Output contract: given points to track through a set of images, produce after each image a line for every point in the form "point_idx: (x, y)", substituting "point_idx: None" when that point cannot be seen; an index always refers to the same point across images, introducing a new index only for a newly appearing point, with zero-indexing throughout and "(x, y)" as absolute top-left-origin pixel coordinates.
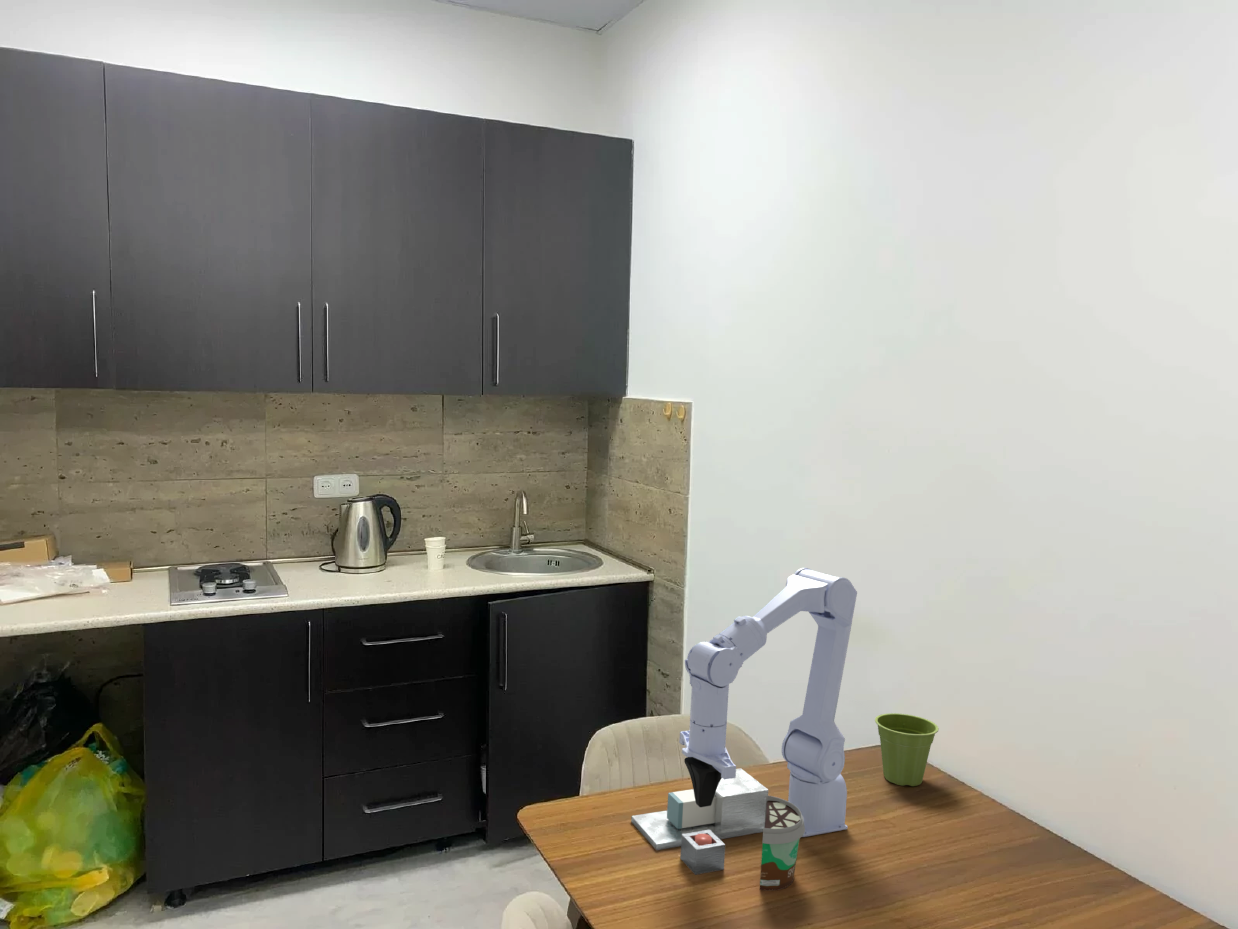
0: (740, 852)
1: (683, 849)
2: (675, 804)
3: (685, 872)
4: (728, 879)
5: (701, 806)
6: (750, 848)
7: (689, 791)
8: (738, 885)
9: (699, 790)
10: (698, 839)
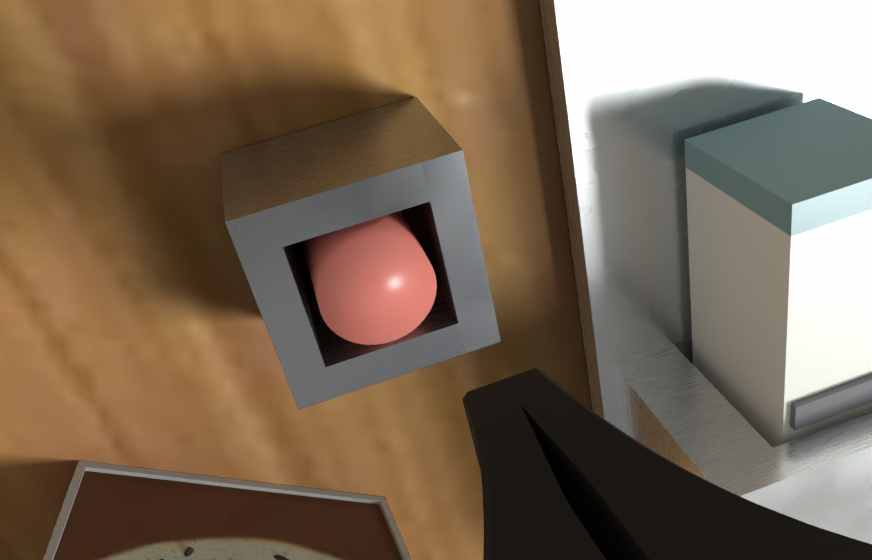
0: (450, 415)
1: (400, 130)
2: (819, 176)
3: (254, 99)
4: (179, 330)
5: (466, 410)
6: None
7: None
8: (116, 370)
9: (486, 517)
10: (356, 257)
